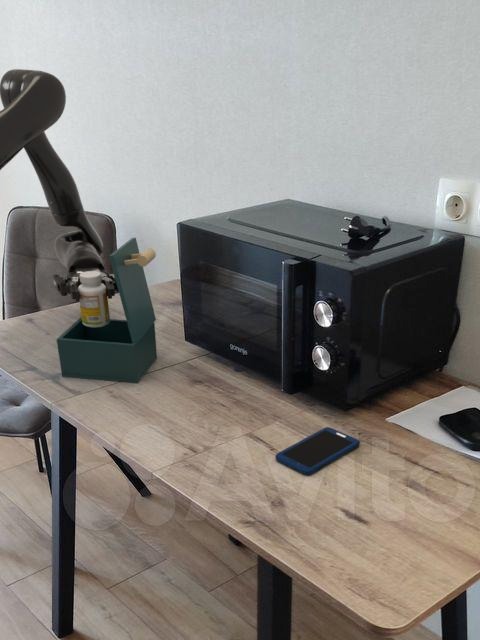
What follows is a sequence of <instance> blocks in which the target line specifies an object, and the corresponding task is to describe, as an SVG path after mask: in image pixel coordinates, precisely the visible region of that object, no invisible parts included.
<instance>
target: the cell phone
mask: <svg viewBox="0 0 480 640" xmlns="http://www.w3.org/2000/svg"><path fill="white" fill-rule="evenodd" d="M360 442H361V441H360V440H359V439H357V438H355V437H354V436H351V435H348V434H346V433H344V432H341V431H340V430H337V429H335V428H333V427H330V426H325V427H324V428H322V429H320V430H318V431H315V432H314V433H313V434H311V435H309V436H307V437H305V438H303V439H301V440H299V441H297V442H296V443H294V444H292V445H290V446H288V447H287V448H285V449H283V450H281V451H279V452H277V453H276V454H275V455H274V456H275V460H276V461H278V462H280V463H281V464H284V465H285V466H288V467H289V468H291V469H293V470H295V471H297V472H300V473H301V474H304V475H313V473H316V472H318V471H319V470H321V469H322V468H323V467H326V466H327V465H329V464H330V463H332V462H334V461H335V460H338V459H339V458H341V457H343V456H344V455H345V454H347V453H349V452H351V451H352V450H354V449H356V448H357V447H358V446H360V445H361V443H360Z"/></svg>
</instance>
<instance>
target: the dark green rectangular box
mask: <svg viewBox="0 0 480 640" xmlns="http://www.w3.org/2000/svg"><path fill="white" fill-rule="evenodd" d="M55 340H56V346H57V352H58V359H59V364H60V371H61V377H63V378H74V379H75V378H76V379H86V380H87V379H88V380H99V381H110V382H120V383H121V382H122V383H133V384H139V382H141V380H142V378H143V377H144V376H145V375H146V374H147V372H148V371H149V369H150V368H151V367H152V365H153V364H154V363H155V361H156V360H157V358H158V352H157V340H156V327H155V322H154V323H153V324H152V325H151V326H150V327H149V329H148V330H147V331H146V332H145V333H144V334H143V336H142V337H141V338H140V339H139V340H138V342H137V343H132V339H131V335H130V331H129V328H128V324H127V320H126V319H116V318H110V322H109V324H107V325H105V326H103V327H87V326H85V325H83V323H82V317H81V316H80V317H79V318H78V319H77V320H76V321H75V322H74V323H73V324H72V325H70V327H68V328H67V329H66V330H65V331H64V332H63V333H62V334H61V335H59V336H58V337H57V338H56V339H55Z"/></svg>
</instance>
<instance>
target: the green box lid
mask: <svg viewBox="0 0 480 640" xmlns="http://www.w3.org/2000/svg"><path fill="white" fill-rule="evenodd" d="M156 256H157V254H156V251H155V250H154V249H153V248H147V249H146V250H144V251H143V252H140V249H139V246H138V242H137V238H136V237H131V238H130V239H129V240H128V241H126V242H125V243H123V244H122V245H121V246H120V247H119V248H117V249H116V250H114V251H113V252H112V253H111V254H109V255H108V257H109V260H110V264H111V268H112V272H113V274H114V276H115V279H116V283H117V287H118V290H119V292H118V294H119V298H120V301H121V304H122V309H123V312H124V316H125V320H127V324H128V328H129V331H130V335H131V339H132V343H137V342H138V340H139V339H140V338H141V337H142V336H143V334H144V333H145V332H146V331H147V330H148V329H149V327H150V326H151V325H152V324H153V323H154V324H155V321H156V320H157V318H156V314H155V310H154V307H153V302H152V299H151V295H150V290H149V286H148V281H147V277H146V273H145V270H144V267H146V266H147V265H149V264H150V263H151V262H152V261H153V260H154V259H155V258H156Z"/></svg>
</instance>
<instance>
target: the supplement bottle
mask: <svg viewBox="0 0 480 640" xmlns="http://www.w3.org/2000/svg"><path fill="white" fill-rule="evenodd" d="M101 281H102V277H101V273H100V272H97V271H86V272H83V273H81V274H80V282H81V283H82V284H81V285H80V286H79V287H78V291H79V298H80V301H78V303H79V309H80V318H81V317H82V323H83V325H85V326H87V327H103V326H105V325H107V324H109V322H110V319H111V316H110V307H109V299H108V296H107V290H106V286H105V285H104V284H103V283H101Z"/></svg>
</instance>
